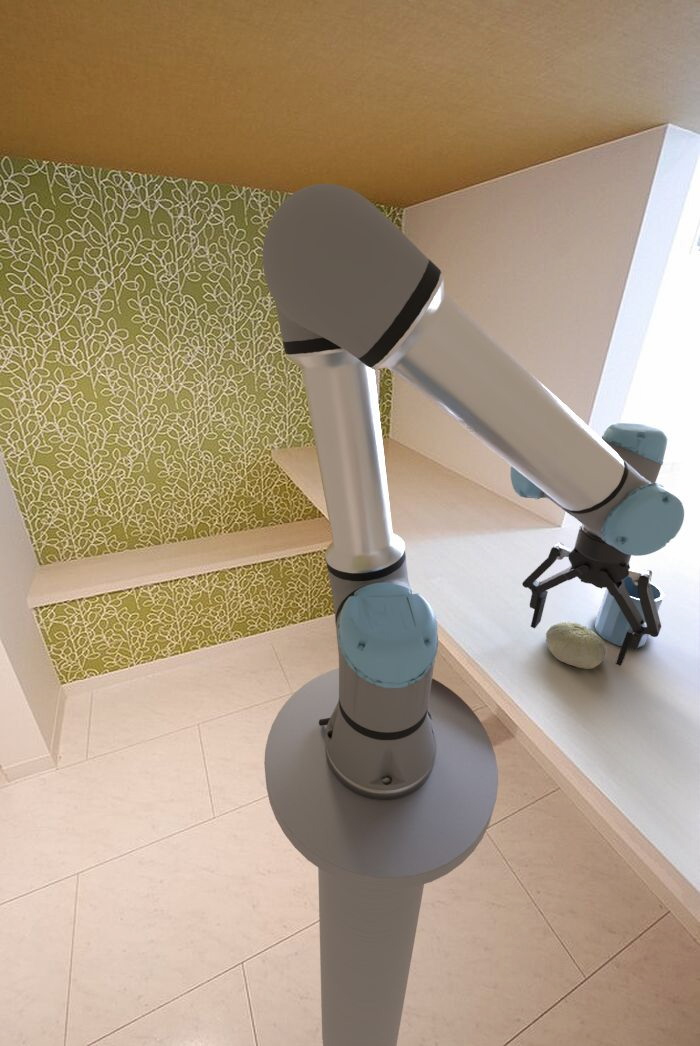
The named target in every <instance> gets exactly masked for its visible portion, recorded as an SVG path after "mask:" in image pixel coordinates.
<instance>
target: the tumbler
mask: <svg viewBox="0 0 700 1046" xmlns="http://www.w3.org/2000/svg"><path fill="white" fill-rule="evenodd" d="M623 582H624V584H625V588H626V590H627V592H628V593H629V595H630V597H631V598H632V600H633V602H634V604H635V605H636V607H637V609H638V610H639V612H640V614H641V616H642V617H643V619H644V621H645V618H644V614H643V610H642V607H641V603H640V599H639V596H638V591H637V586H638V585H634V583H633V581H632V579H631V578H630V577H626V578H625V579H623ZM650 585H651V589H652V593H653V596H654V600H655V604H656V608H657V611H658V612H659V610H660V607H661V605H662V603H663V599H664V598H665V593H664V591H663V589H661V588H660V587H659V586H658V585H656V584H655V583H653V582H652V581H651V582H650ZM598 609H599V610H598V612H597V616H596V619H595V622H594V628H595V631H596V632H597V635H598V636H599V637H601V638H602V639H603V640H606V641H608V642H609V643H611V644H614V645H616V646H619V647H622V644H623V641H624V639H625V636H626V633H627V631H628V629H629V627H630V624H629V623H628V621H627V619H626V617H625V616H624V614H623V612H622V611H621V609H620V607H619V605H618V604H617V602H616V600H615V598H614V597H613V596H611V594H610V593H609V591H608V589H607V588H605V591H604V594H603V598H602V600H601V604H600V606H599V608H598ZM645 622H646V621H645ZM648 637H649V635H648V634H645V635H643V636H642V638H641V641H640V643H639V646H638V648H641V647H643V646H644V645H645V644H646V642H647V640H648Z"/></svg>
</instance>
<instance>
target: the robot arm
mask: <svg viewBox="0 0 700 1046" xmlns="http://www.w3.org/2000/svg"><path fill="white" fill-rule="evenodd" d="M263 239H264V240H263V245H262V269H263V275H264V279H265V282H266V285H267V289H268V290H269V294H270V295H271V297H272V299H273V301H274V305H275V309H276V315H277V320H278V324H279V329H280V334H281V340H282V344H283V349H284V354H285V357H286V358H287V359H288V360H289V361H291V362H292V363H293V364H295V365H296V366H297V367H298V368H299V369H300V370H301V374H302V380H303V385H304V392H305V397H306V403H307V406H308V407H307V408H308V413H309V414H308V415H309V419H310V424H311V425H310V426H311V429H312V436H313V440H314V446H315V452H316V456H317V462H318V468H319V473H320V479H321V484H322V490H323V496H324V499H325V506H326V511H327V517H328V523H329V527H330V533H331V539H332V541H331V542H330V543H329V545H328V546H327V547H326V549H325V552H324V558H325V563H326V569H327V575H328V579H329V584H330V591H331V596H332V602H333V603H332V604H333V610H334V620H335V621H334V622H335V631H336V641H337V642H336V643H337V652H338V668H339V701H338V703H337V705H336V707H335V709H334V711H333V713H332V716H331V718H326V719H320V720H319V725H320V726H323V725H327V728H326V733H325V752H326V758H327V761H328V764H329V766H330V768H331V770H332V772H333V773H334V775H335V776H336V778H337V779H338V780H339V781H340V782H341V783H342V784H343V785H344V786H345V787H347V788H348V789H350V790H351V791H353V792H355V793H356V794H358V795H361V796H363V797H367V798H370V799H375V800H393V799H398V798H402V797H405V796H407V795H409V794H411V793H413V792H415V791H416V790H417V789H419V788H420V787H421V786H422V785H423V784H424V783H425V782H426V780H427V779H428V777H429V776H430V774H431V772H432V769H433V766H434V762H435V755H436V737H435V733H434V730H433V727H432V725H431V722H430V719H429V717H430V718H431V720H432V717H431V715H430V713H429V712H428V711H427V710H428V703H429V696H430V689H431V682H432V678H433V674H434V670H435V669H434V668H435V661H436V657H437V653H438V652H437V651H438V648H439V634H438V633H439V632H438V622H437V617H436V614H435V612H434V610H433V608H432V606H431V604H430V603H429V602H428V601H427V600H426V598H424V597H423V595H421V594H419V593H413V591H412V589H411V585H410V581H409V573H408V565H407V564H408V563H407V555H406V554H407V553H406V545H405V541H404V540H403V538H402V537H400V536H399V535H398V534H396V533H395V532H393V525H392V524H393V523H392V516H391V508H390V507H391V506H390V498H389V489H388V480H387V472H386V471H387V470H386V462H385V452H384V444H383V436H382V435H383V434H382V425H381V417H380V408H379V399H378V389H377V382H376V381H377V380H376V373H375V370H381V369H389V370H390V371H391V372H392V373H394V374H395V375H396V376H397V377H399V378H400V379H401V380H402V381H404V382H405V383H406V384H408V385H409V386H410V387H411V388H413V390H415V391H417V392H418V393H419V394H420V395H421V396H423V397H424V398H425V399H426V400H427V401H429V402H430V403H432V405H434V406H435V407H436V408H438V409H439V410H440V411H441V412H442V413H444V414H445V415H447V416H448V417H449V418H450V419H452V420H453V421H454V422H455V423H457V424H458V425H459V426H461V427H462V428H463V429H464V430H465V431H467V433H469V434H470V435H472V436H473V437H474V438H476V439H477V440H478V441H479V442H480V443H482V444H483V445H484V446H485V447H487V448H488V449H489V450H490V451H492V453H494V454H496V455H497V456H498V457H499V458H500V459H502V460H503V461H504V462H505V463H507V464H508V465H509V466H510V482H511V485H512V489H513V490H514V492H515V493H516V494H517V495H518V496H519V497H521V498H524V499H535V500H540V499H548V500H550V501H551V502H553V504H555V505H557V506H558V507H559V508H561V509H562V510H563V511H565V512H566V513H567V514H569V515H570V516H571V517H573V518H574V519H576V520H577V521H578V522H579V523H580V524H581V525H580V526H579V529H578V532H577V535H576V539H575V544H574V547H573V549H571V548H568V547H566V546H565V544H564V543H563V542H561V541H558V542H556V543H555V544H554V545H553V546H552V547H551V548H550V552H549V553H548V557H546V558H545V560H544V561H543V562H542V563H540V564H539V566H537V567H536V568H535V569H534V571H532V572H531V573H530V574H529V576H527V577H526V578H525V579H524V580H523V582H522V583H521V584H522V586H523V588H526V589H527V588H528V589H529V590H530V592H531V596H530V601H529V608H530V609H532V610H534V611H533V615H532V619H531V623H530V627H531V628H533V629H536V628H537V626H538V625H539V624H540V623H541V621H542V618H543V617H542V616H543V614H544V609H545V605H546V600H547V597H548V591H549V590H551V589H552V588H555V587H557V586H559V585H562V584H563V583H565V582H567V581H571V580H573V579H575V578H578V579H579V580H580V582H581V583H583V584H591V585H593V586H594V587H596V588H599V589H601V590H602V589H603V588H604V589H606V588H607V589H608V591H609V593H610V594H611V596H613V597H614V598H615V600H616V602H617V604H618V605H619V607H620V609H621V611H622V612H623V614H624V616H625V617H626V619H627V621H628V623H629V624H630V627H629V629H628V631H627V633H626V636H625V639H624V641H623V644H622V646H620V647H621V648H620V650H619V654H618V656H617V657H616V658H617V659H616V661H615V665H616V666H619V667H622V665H623V663H624V660H625V658H626V656H627V653H628V651H629V649H630V650H632V651H636V650H637V649H638V648H639V647H638V646H639V643H640V641H641V638H642V636H643V635H645V634H648V636H650V637H652V638H656V637H658V636H659V634H660V632H661V629H662V622H661V619H660V615H659V610H658V611H657V608H656V604H655V600H654V596H653V593H652V589H651V585H650V582H651V583H652V576H653V571H652V570H651V569H649V568H644V569H642V570H640V569H636V568H631V566H630V561H631V558H632V556H636V557H637V556H638V557H641V556H646V555H650V554H654V553H656V552H658V551H660V550H661V549H663V548H664V547H666V545H667V544H669V543H670V542H671V540H673V539H675V538H676V537H677V535H678V533H679V532H680V530H681V528H682V526H683V523H684V520H685V508H684V505H683V503H682V501H681V499H680V498H679V496H677V495H676V494H674V493H673V492H671V491H669V490H667V489H666V488H665V487H664V486H663V485H662V484H659V483H658V482H656V481H657V480H658V479H657V478H658V476H659V474H660V471H661V468H662V466H663V464H664V458H665V453H666V450H667V446H668V441H669V436H668V433H666V431H665V430H663V429H662V428H659V427H658V426H657V427H656V426H653V425H649V424H644V423H636V422H616V423H610V424H609V425H607V427H606V428H605V429H604V433H603V435H602V436H601V437H600V436H599V435H598V434H597V433H596V432H595V431H594V430H593V429H591V428H590V426H588V425H587V424H586V423H585V422H584V421H583V420H582V419H581V418H580V417H579V416H578V415H576V414H575V412H573V411H572V410H571V409H570V407H568V406H567V405H566V404H565V403H563V402H562V401H561V400H560V399H559V398H558V397H557V396H556V395H555V394H554V393H553V392H551V390H549V389H548V387H546V386H545V385H544V384H543V383H542V382H541V381H540V380H539V379H538V378H537V377H536V376H534V375H533V374H532V373H531V372H530V371H529V370H528V369H527V368H526V367H525V366H524V365H523V364H521V362H519V361H518V360H517V359H516V358H515V357H514V356H513V355H512V354H511V353H510V352H509V351H508V350H506V349H505V348H504V347H503V346H502V345H501V344H500V343H499V342H498V341H497V340H496V339H495V338H494V337H492V335H490V333H488V332H487V331H486V330H485V329H484V328H483V327H482V326H481V325H479V323H478V322H477V321H475V320H474V319H473V318H472V317H471V316H470V315H469V314H468V313H467V312H466V311H465V310H464V309H462V308H461V306H459V305H458V304H457V303H456V302H455V301H454V300H453V299H452V298H450V296H448V295H447V294H446V291H445V281H444V279H445V278H444V276H445V275H444V272H443V271H442V270H441V269H440V268H439V267H438V266H437V265H436V264H435V263H434V262H433V261H432V260H431V259H429V258H428V257H427V256H426V255H425V254H424V253H423V252H422V251H421V250H420V248H418V247H417V246H416V245H415V244H414V242H412V241H411V239H410V238H408V236H407V235H406V234H404V232H402V231H401V230H400V229H399V227H398V226H396V225H395V224H394V222H393V221H391V220H390V219H389V218H388V217H387V216H386V215H385V213H383V212H382V211H381V210H380V208H377V206H376V205H375V204H373V202H371V201H370V200H368V199H367V198H366V197H364V196H363V195H361V194H360V193H359V192H357V191H355V190H354V189H351V188H349V187H345V186H342V185H338V184H333V183H318V184H317V183H315V184H312V185H308V186H305V187H303V188H301V189H298V190H296V191H295V192H293V193H292V194H291V195H289V196H288V197H287V198H286V199H285V200H283V201H282V203H281V204H280V205H279V206H278V207H277V208H276V210H275V212H274V213H273V214H272V217H271V219H270V221H269V223H268V226H267V228H266V231H265V234H264V238H263ZM564 558H568V561H569V563H570V565H571V566H569V567H568V568H565V569H563V570H561V571H559V572H558V573H556V574H553V575H551V576H550V577H547V578H545V579H543V580H542V581H539V582H538V581H537V580H538V579H539V578H540V577H541V576H543V574H544V573H545V572H546V571H548V569H549V568H550V567H552V566H553V564H554V563H555V562H556V561H557V560H559V561H560V560H561V561H562V560H563V559H564ZM626 577H630V578H631V579H632V581H633V583H634V585H638V586H637V591H638V596H639V599H640V603H641V607H642V610H643V614H644V618H645V621H646V622H645V621H644V619H643V617H642V616H641V614H640V612H639V610H638V609H637V607H636V605H635V604H634V602H633V600H632V598H631V597H630V595H629V593H628V592H627V590H626V588H625V584H624V582H623V579H625V578H626Z"/></svg>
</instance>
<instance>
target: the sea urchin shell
mask: <svg viewBox="0 0 700 1046" xmlns="http://www.w3.org/2000/svg"><path fill="white" fill-rule="evenodd" d="M545 637H546V638H545V642H546V644H547V647H548V650H549V652H550V653H551V654H552V655H553V656H554V658H556V660H558V661H560V662H562V663H565V664H567V665H570V666H574V667H576V668H577V669H578V668H580V669H585V670H589V669H595V668H597V667H598V666H600V665H601V664H602V663H603V661H604V660H605V657H606V655H607V647H606V643H605V641H604V639H603V638H602V636H600V635H599V634H598V633H596V632H595V631H593V630H591V629H589V628H588V627H587V626H584V625H583V624H580V623H578V622H572V621H565V622H558V623H556V624H553V625H551V626H550V627H549V629H548V630H547V631H546V633H545Z"/></svg>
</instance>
